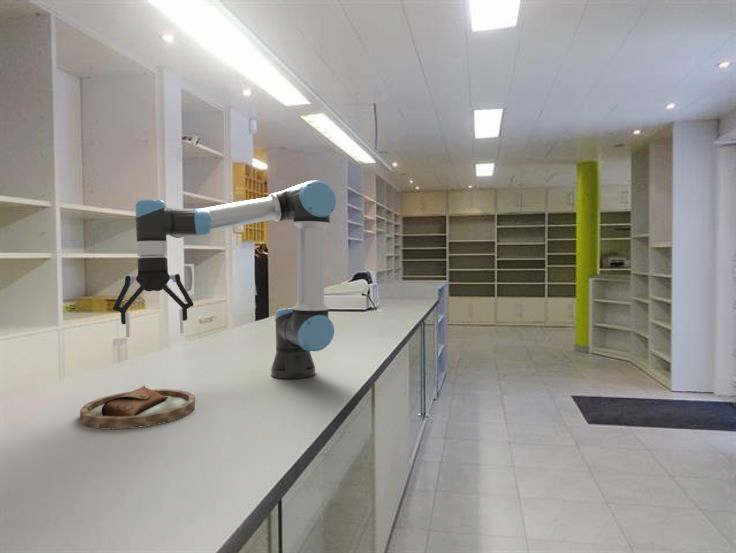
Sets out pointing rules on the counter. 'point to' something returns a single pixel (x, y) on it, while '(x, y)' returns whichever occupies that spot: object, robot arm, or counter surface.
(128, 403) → the sunglasses case
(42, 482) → the counter surface
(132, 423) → the tray
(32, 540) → the counter surface
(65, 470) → the counter surface
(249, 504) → the counter surface
